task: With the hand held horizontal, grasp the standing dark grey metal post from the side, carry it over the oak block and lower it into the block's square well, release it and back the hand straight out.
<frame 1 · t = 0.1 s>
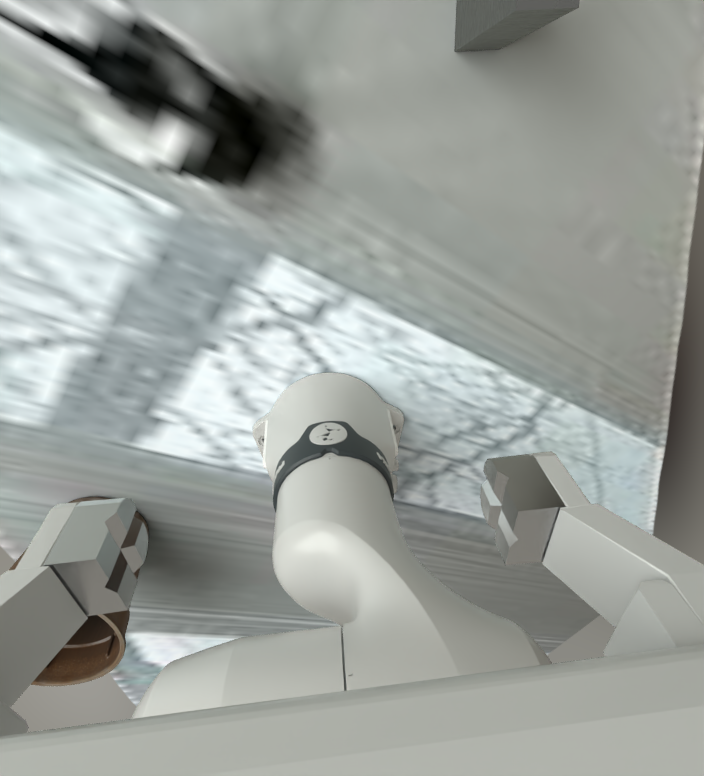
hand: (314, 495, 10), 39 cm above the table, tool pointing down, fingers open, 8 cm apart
post: (478, 21, 38), on the table
plant pot: (105, 528, 61), on the table
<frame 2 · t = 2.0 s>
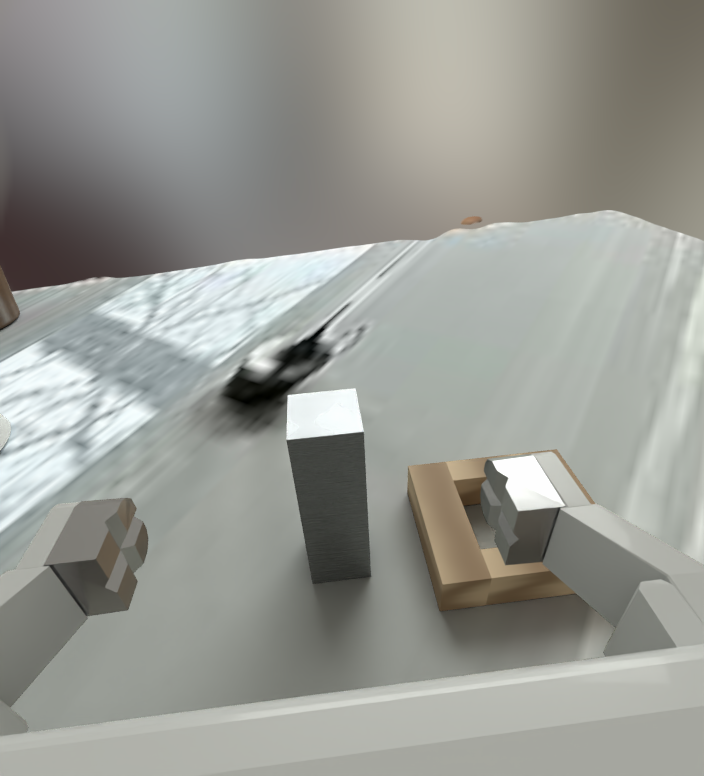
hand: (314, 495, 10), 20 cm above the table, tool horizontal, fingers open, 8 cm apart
well block: (501, 534, 33), on the table
post: (339, 554, 32), on the table
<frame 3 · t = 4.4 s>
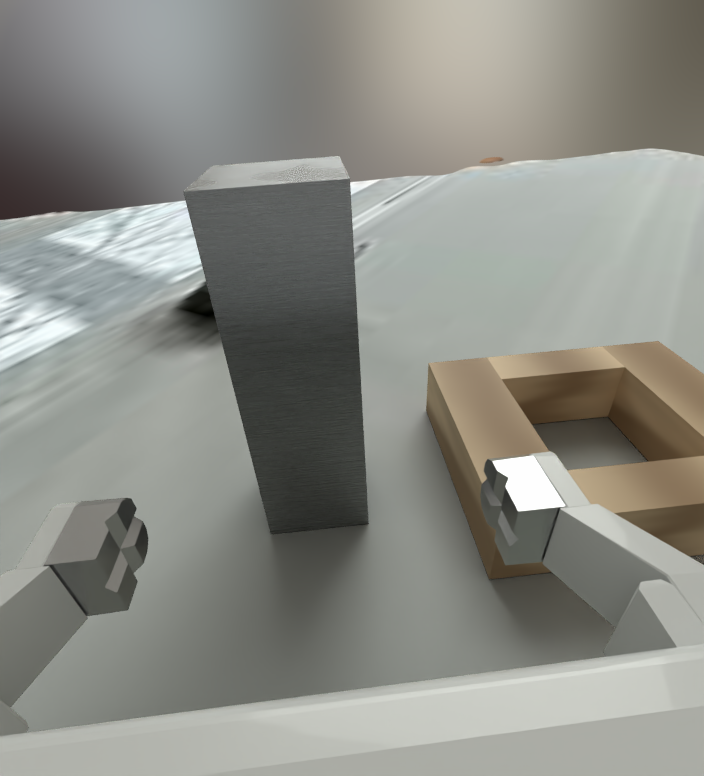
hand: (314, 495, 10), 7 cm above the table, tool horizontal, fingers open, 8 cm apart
well block: (580, 463, 20), on the table
post: (318, 491, 20), on the table
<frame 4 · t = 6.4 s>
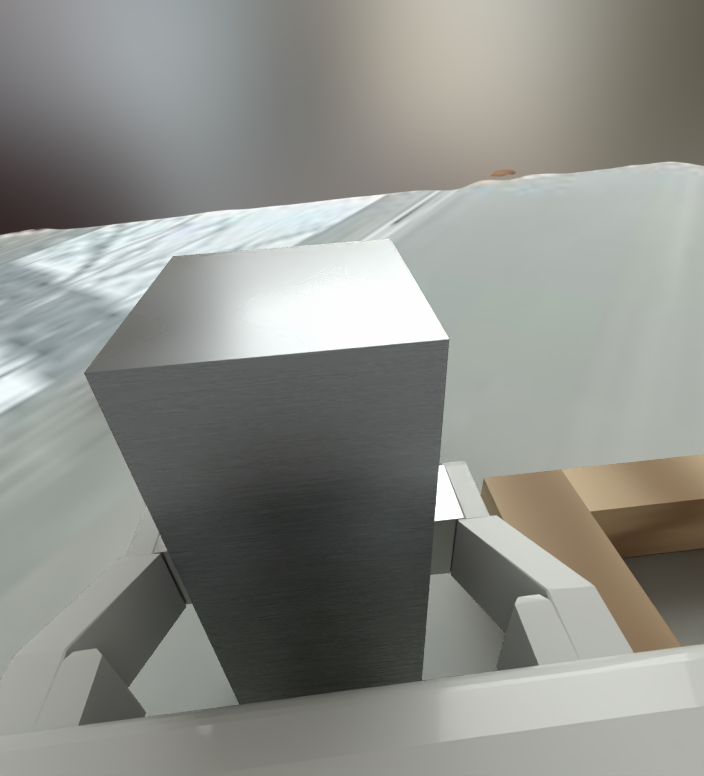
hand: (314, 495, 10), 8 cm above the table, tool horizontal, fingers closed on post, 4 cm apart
post: (339, 682, 14), on the table, touching gripper
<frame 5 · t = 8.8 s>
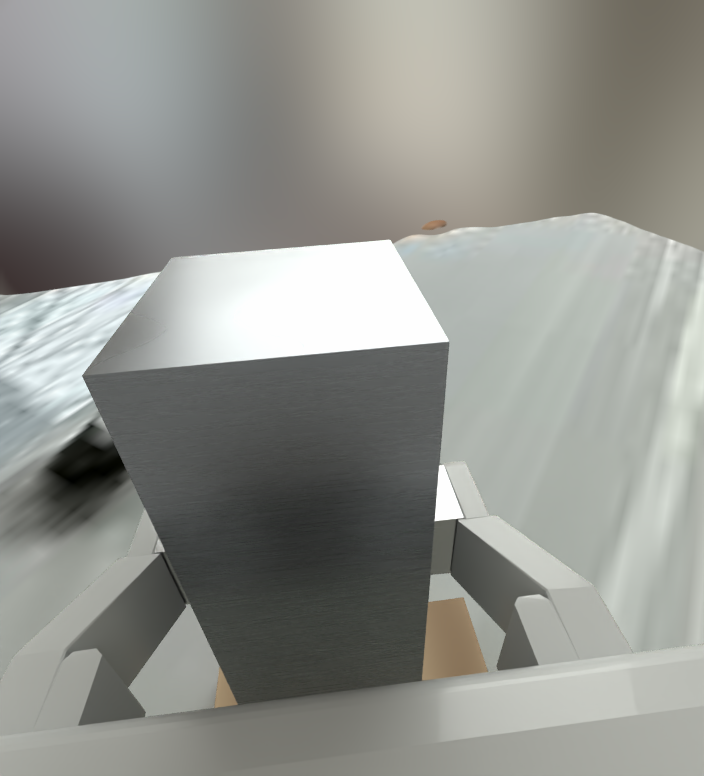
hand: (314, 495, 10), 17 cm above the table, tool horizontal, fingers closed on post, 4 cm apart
well block: (360, 759, 20), on the table
post: (339, 684, 14), point 9 cm above the table, touching gripper
when the fingers open (9 cm above the table, at t = 11.0 s): post drops 1 cm, resting in well block.
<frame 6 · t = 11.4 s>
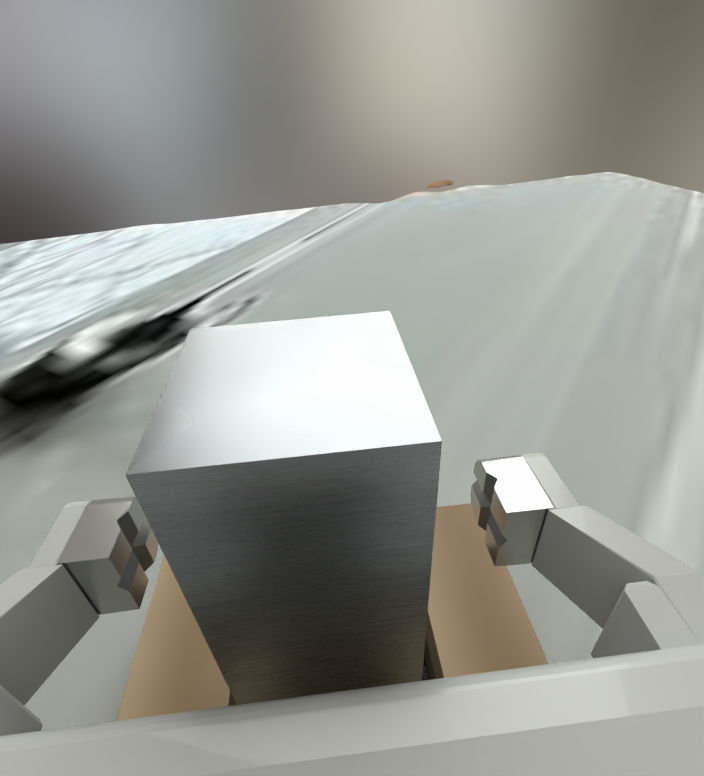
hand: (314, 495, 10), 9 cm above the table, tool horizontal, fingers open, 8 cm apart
well block: (342, 700, 15), on the table
post: (341, 703, 15), resting in well block
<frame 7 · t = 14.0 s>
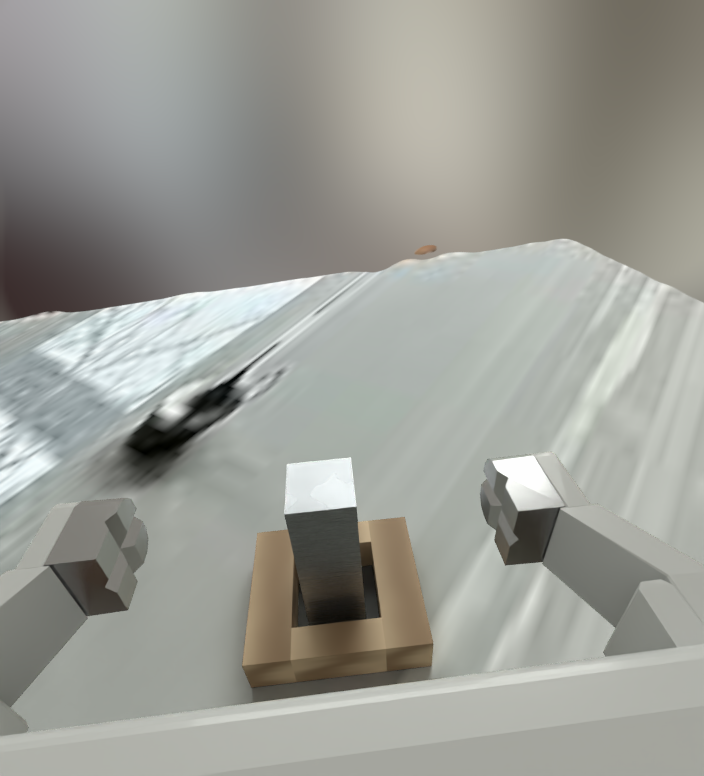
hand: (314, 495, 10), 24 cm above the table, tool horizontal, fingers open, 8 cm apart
well block: (337, 604, 33), on the table
post: (337, 605, 33), resting in well block
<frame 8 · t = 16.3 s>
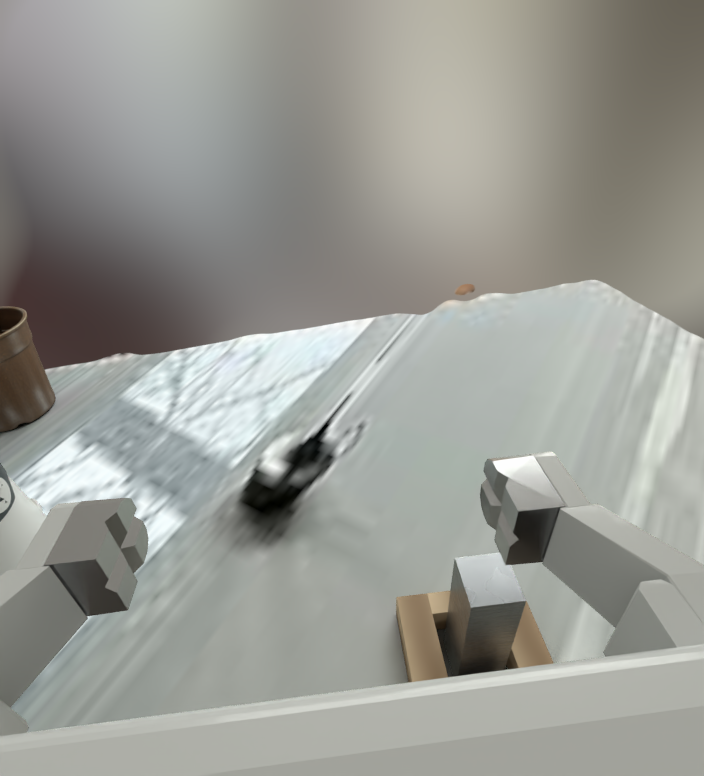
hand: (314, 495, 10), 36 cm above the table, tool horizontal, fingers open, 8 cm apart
well block: (471, 659, 40), on the table
post: (471, 660, 40), resting in well block
plant pot: (16, 412, 77), on the table
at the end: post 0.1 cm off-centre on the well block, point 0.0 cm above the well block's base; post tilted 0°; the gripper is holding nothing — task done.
